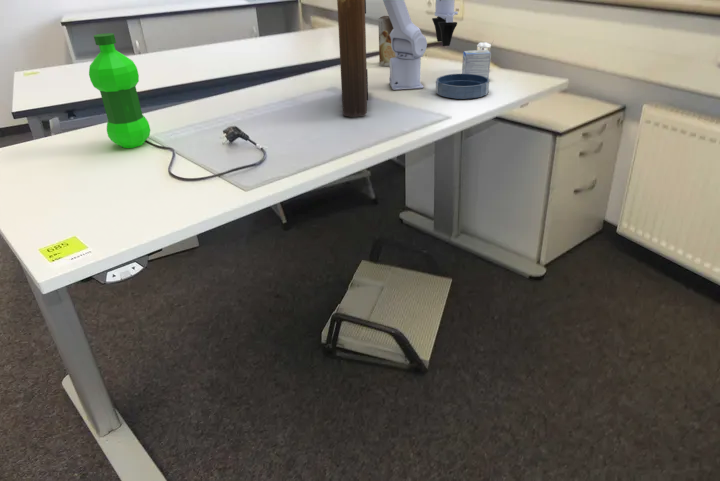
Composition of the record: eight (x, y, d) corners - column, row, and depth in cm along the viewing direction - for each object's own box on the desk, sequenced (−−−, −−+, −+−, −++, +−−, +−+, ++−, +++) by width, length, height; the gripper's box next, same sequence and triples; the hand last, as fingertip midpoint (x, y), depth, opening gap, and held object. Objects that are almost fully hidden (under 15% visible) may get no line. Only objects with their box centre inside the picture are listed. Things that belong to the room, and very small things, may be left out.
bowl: (442, 101, 151) (443, 88, 149) (431, 87, 164) (431, 75, 162) (495, 98, 152) (496, 84, 150) (479, 84, 165) (480, 72, 163)
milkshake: (491, 72, 178) (494, 40, 173) (475, 72, 179) (477, 40, 174) (491, 69, 182) (494, 38, 177) (475, 69, 183) (477, 38, 178)
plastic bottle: (111, 155, 123) (78, 41, 111) (109, 141, 132) (79, 33, 119) (156, 147, 127) (129, 35, 114) (152, 134, 135) (127, 29, 122)
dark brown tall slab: (344, 94, 161) (339, -16, 146) (368, 93, 161) (365, -17, 146) (341, 118, 141) (334, -7, 126) (368, 117, 141) (365, -8, 126)
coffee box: (408, 63, 195) (408, 15, 186) (402, 67, 189) (403, 18, 181) (384, 62, 198) (384, 15, 190) (378, 65, 193) (377, 17, 184)
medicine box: (485, 77, 173) (487, 49, 168) (488, 81, 169) (491, 52, 165) (461, 78, 173) (462, 50, 168) (463, 82, 169) (465, 53, 164)
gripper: (464, -2, 158) (461, 47, 165) (452, -7, 170) (450, 38, 177) (440, 0, 157) (438, 48, 164) (430, -6, 170) (429, 39, 177)
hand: (443, 43), depth 171 cm, fingers open, 7 cm apart
